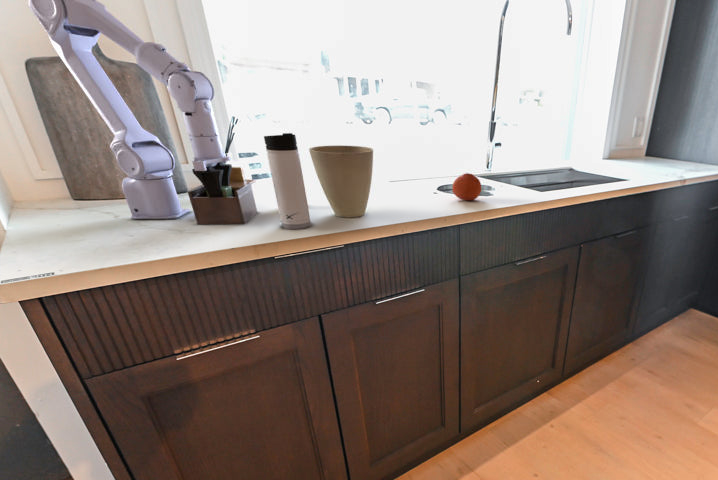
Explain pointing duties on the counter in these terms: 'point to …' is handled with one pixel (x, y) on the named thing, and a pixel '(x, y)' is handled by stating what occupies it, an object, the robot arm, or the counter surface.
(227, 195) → the block
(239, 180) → the lid
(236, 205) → the box
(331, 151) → the plant pot
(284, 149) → the travel mug
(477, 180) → the fruit
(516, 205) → the counter surface
